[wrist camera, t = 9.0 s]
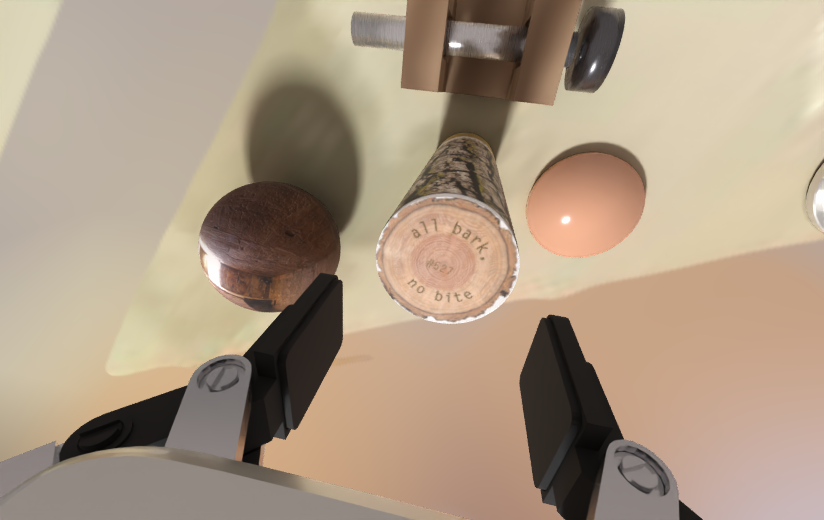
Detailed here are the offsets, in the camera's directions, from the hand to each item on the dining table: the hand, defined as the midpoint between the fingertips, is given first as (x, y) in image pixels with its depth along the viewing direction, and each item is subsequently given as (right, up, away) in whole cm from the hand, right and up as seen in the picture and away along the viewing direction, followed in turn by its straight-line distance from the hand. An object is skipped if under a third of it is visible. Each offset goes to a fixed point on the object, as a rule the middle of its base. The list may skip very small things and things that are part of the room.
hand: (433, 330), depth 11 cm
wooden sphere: (-16, +7, +33) cm, 38 cm away
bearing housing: (+6, +23, +21) cm, 32 cm away
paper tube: (+5, +14, +26) cm, 30 cm away
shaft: (+5, +22, +18) cm, 29 cm away
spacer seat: (+19, +9, +26) cm, 33 cm away
